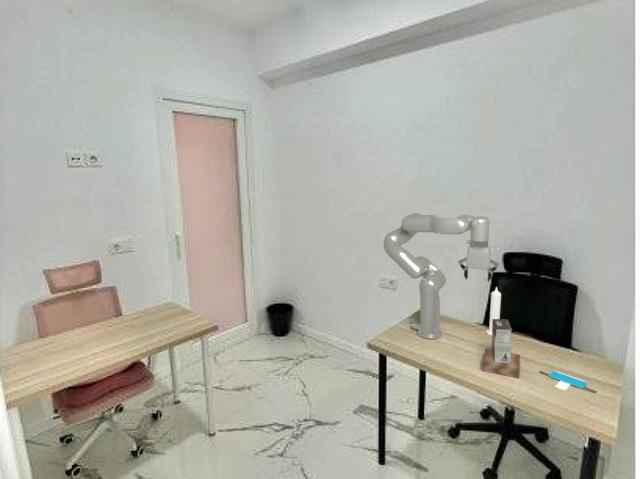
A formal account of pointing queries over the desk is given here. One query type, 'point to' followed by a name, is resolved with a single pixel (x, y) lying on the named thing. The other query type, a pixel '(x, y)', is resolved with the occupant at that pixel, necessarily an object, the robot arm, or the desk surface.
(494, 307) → the candle
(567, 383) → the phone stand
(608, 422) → the desk surface
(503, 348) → the coffee box
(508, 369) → the walnut block
